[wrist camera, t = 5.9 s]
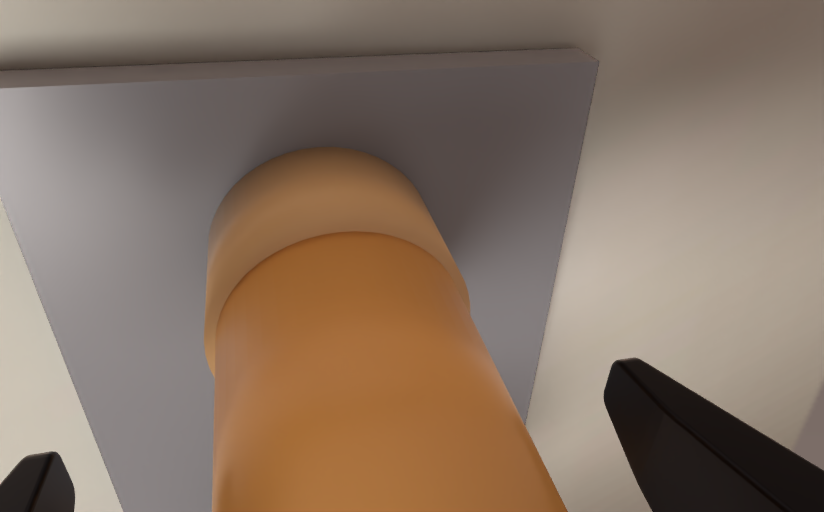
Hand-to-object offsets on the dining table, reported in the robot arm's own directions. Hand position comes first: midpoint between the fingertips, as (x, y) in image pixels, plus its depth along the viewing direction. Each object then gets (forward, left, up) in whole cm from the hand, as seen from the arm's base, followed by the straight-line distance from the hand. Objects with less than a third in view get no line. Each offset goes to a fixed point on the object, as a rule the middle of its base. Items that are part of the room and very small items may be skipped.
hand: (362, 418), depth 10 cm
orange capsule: (0, 0, -2) cm, 2 cm away
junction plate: (-4, 0, -6) cm, 7 cm away
